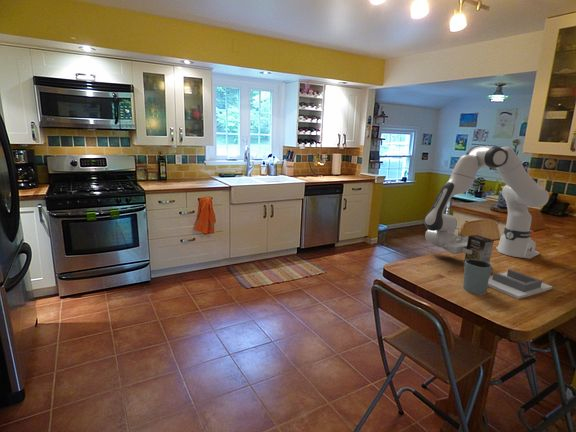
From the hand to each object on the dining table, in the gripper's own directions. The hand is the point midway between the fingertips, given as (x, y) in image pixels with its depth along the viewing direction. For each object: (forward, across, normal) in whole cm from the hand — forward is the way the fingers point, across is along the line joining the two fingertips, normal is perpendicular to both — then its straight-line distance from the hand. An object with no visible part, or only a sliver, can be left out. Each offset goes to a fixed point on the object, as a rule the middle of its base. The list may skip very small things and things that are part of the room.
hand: (478, 251), depth 165 cm
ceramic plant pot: (+15, -22, +9) cm, 28 cm away
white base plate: (+19, -1, +9) cm, 21 cm away
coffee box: (0, 0, +9) cm, 9 cm away
